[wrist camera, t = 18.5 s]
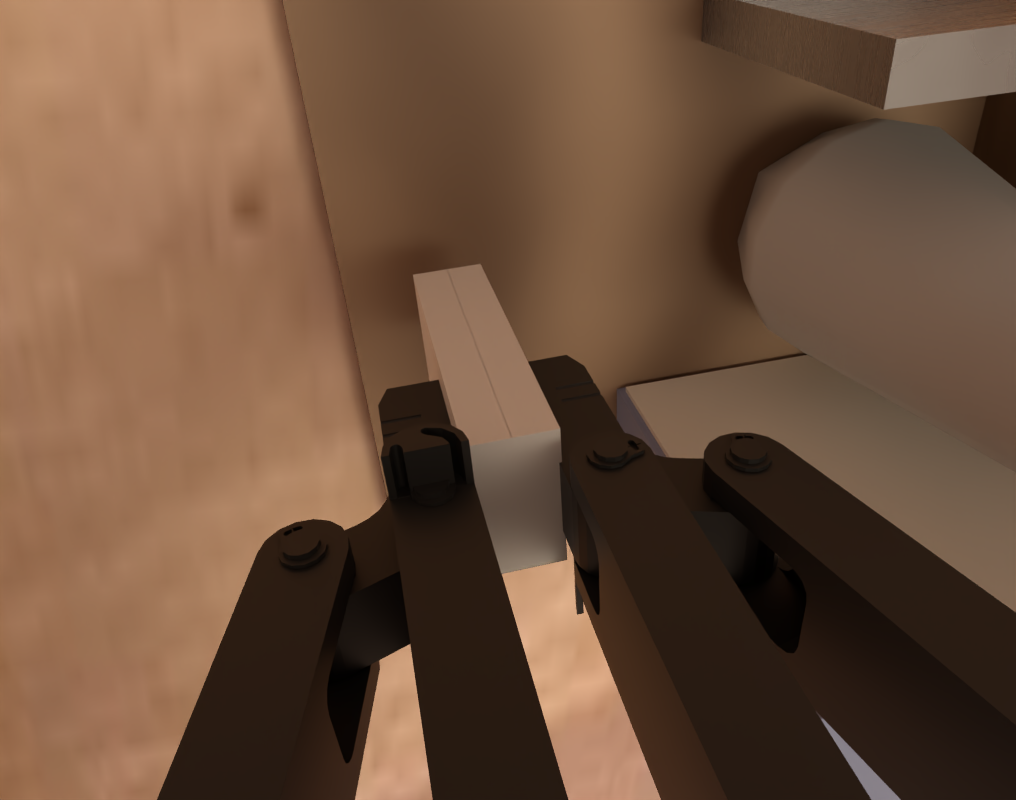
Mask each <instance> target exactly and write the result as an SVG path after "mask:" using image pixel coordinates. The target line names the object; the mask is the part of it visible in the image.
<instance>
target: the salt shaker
mask: <svg viewBox="0 0 1016 800" xmlns="http://www.w3.org/2000/svg"><path fill="white" fill-rule="evenodd" d="M738 247H739V254H740V260H741V267H742V273H743V279H744V282H745V284H746V287H747V289H748V291H749V293H750V296H751V298H752V300H753V303H754V305H755V307H756V310H757V312H758V314H759V317H760V319H761V320H762V321H763V323H764V324H765V326H766V327H767V329H768V330H770V331H771V332H773V333H774V334H776V335H777V336H779V337H780V338H782V339H784V340H785V341H787V342H788V343H790V344H791V345H793V346H794V347H796V348H797V349H799V350H800V351H802V352H804V353H805V354H807V355H809V356H811V357H813V358H814V359H816V360H818V361H820V362H821V363H823V364H825V365H827V366H828V367H830V368H832V369H834V370H836V371H837V372H839V373H841V374H843V375H844V376H846V377H848V378H850V379H851V380H853V381H855V382H857V383H859V384H860V385H862V386H864V387H866V388H867V389H869V390H871V391H873V392H874V393H876V394H878V395H880V396H881V397H883V398H885V399H887V400H889V401H890V402H892V403H894V404H896V405H897V406H899V407H901V408H903V409H904V410H906V411H908V412H910V413H912V414H913V415H915V416H917V417H919V418H920V419H922V420H924V421H926V422H927V423H929V424H931V425H933V426H935V427H936V428H938V429H940V430H942V431H943V432H945V433H947V434H949V435H950V436H952V437H954V438H956V439H957V440H959V441H961V442H963V443H965V444H966V445H968V446H970V447H972V448H973V449H975V450H977V451H979V452H980V453H982V454H984V455H986V456H988V457H989V458H991V459H993V460H995V461H996V462H998V463H1000V464H1002V465H1003V466H1005V467H1007V468H1009V469H1011V470H1012V471H1014V472H1016V189H1015V188H1014V187H1013V186H1012V185H1011V184H1009V183H1008V182H1007V181H1006V180H1004V179H1003V178H1002V177H1001V176H999V175H998V174H997V173H996V172H994V171H993V170H992V169H991V168H989V167H988V166H987V165H986V164H985V163H983V162H982V161H981V160H980V159H978V158H977V157H976V156H975V155H973V154H972V153H971V152H970V151H968V150H967V149H966V148H965V147H963V146H962V145H961V144H960V143H959V142H957V141H956V140H955V139H954V138H952V137H951V136H950V135H949V134H947V133H946V132H945V131H944V130H942V129H941V128H940V127H936V126H929V125H922V124H916V123H909V122H902V121H896V120H889V119H879V118H873V119H869V120H866V121H862V122H859V123H855V124H852V125H848V126H844V127H841V128H837V129H834V130H830V131H827V132H823V133H821V134H820V135H818V136H817V137H815V138H813V139H812V140H810V141H809V142H807V143H805V144H804V145H802V146H800V147H799V148H797V149H796V150H794V151H792V152H791V153H789V154H787V155H786V156H784V157H783V158H781V159H779V160H778V161H776V162H775V163H773V164H771V165H770V166H768V167H766V168H765V169H763V170H762V171H760V172H759V173H758V176H757V179H756V182H755V185H754V189H753V192H752V195H751V198H750V202H749V205H748V208H747V211H746V215H745V218H744V221H743V224H742V228H741V231H740V234H739V237H738Z"/></svg>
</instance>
